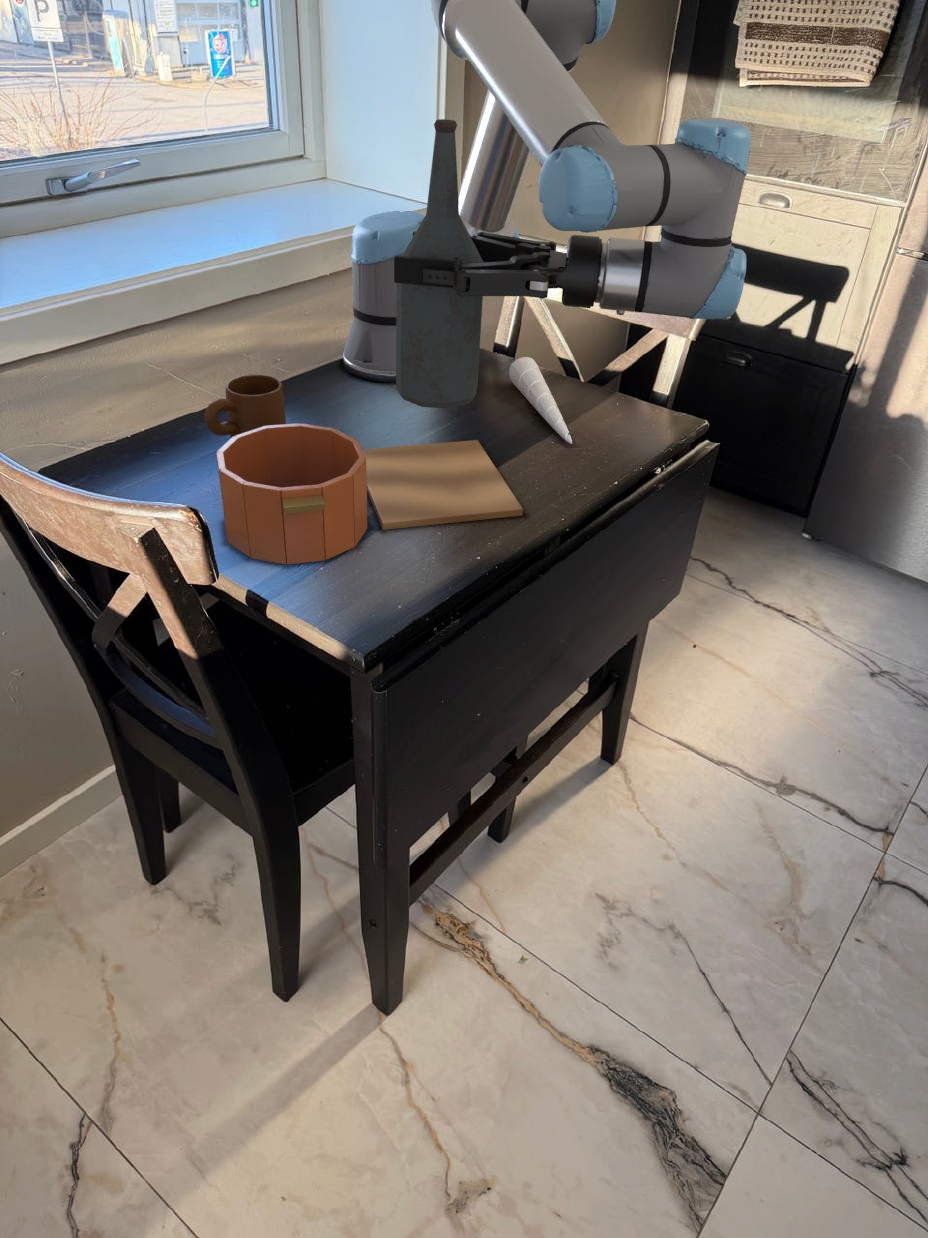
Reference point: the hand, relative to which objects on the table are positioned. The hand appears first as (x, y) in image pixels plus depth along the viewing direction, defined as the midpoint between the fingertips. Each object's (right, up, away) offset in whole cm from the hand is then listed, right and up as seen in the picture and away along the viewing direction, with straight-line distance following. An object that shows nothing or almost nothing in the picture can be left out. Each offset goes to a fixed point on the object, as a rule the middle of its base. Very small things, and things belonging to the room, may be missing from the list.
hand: (404, 255), depth 103 cm
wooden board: (+3, -24, +17) cm, 29 cm away
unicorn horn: (+19, -9, +38) cm, 43 cm away
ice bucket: (-14, -30, +7) cm, 34 cm away
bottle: (+3, -14, +9) cm, 17 cm away
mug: (-23, -19, +21) cm, 36 cm away
